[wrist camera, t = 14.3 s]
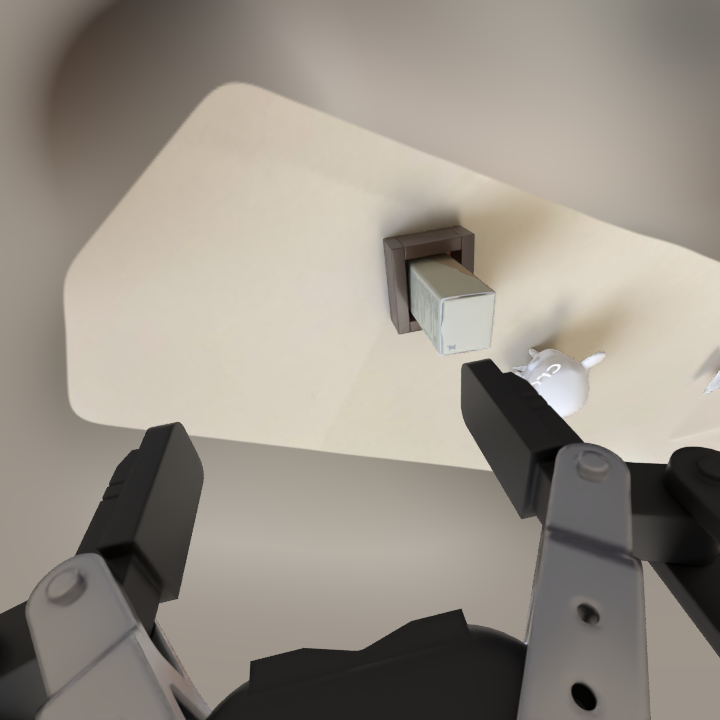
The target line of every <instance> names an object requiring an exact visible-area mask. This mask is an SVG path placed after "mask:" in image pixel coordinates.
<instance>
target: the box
mask: <svg viewBox="0 0 720 720" xmlns="http://www.w3.org/2000/svg"><path fill="white" fill-rule="evenodd" d="M405 264H406V278H407V292H408V306H409V310H410V311H411V313H412V314H413V316H414V317H415V319H416V320H417V322H418V323H419V325H420V326H421V328H422V329H423V331H424V332H425V334H426V335H427V337H428V338H429V340H430V341H431V343H432V344H433V346H434V347H435V349H436V350H437V352H438V353H439V355H440V356H446V355H453V354H460V353H466V352H471V351H477V350H482V349H488V348H490V345H491V338H492V330H493V321H494V309H495V297H496V292H495V291H493V290H492V289H491V288H490V287H488V286H487V285H486V284H485V283H483V282H482V281H481V280H480V279H478V278H477V277H476V276H475V275H473V274H472V273H471V272H470V271H468V270H467V269H466V268H465V267H463V266H462V265H461V264H460V263H458V262H457V261H456V260H455V259H453V258H452V257H451V256H450V255H448V254H447V253H440V254H435V255H430V256H424V257H419V258H414V259H408V260H405Z"/></svg>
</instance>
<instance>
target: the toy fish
mask: <svg viewBox="0 0 720 720" xmlns="http://www.w3.org/2000/svg"><path fill="white" fill-rule="evenodd" d="M719 388H720V370H719V371H718V372H717V374H716V375H715V376H714V378H713V379H712V380H711V381H710V383H709V384H708V385H707V387H706V389H705V391H704V392H703V394H707V393H709V392H712V391H714V390H716V389H719Z"/></svg>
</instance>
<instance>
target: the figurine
mask: <svg viewBox="0 0 720 720" xmlns="http://www.w3.org/2000/svg"><path fill="white" fill-rule="evenodd" d="M529 353H530V355H531V356H532V357H533V360H532V361H531V362H530V363H529V364H528V365H523V366H518V367H513V368H514V369H517V370H521V372H519V371H517V372H515V374H516V375H518V376H520V377H522V378H524V379H525V380H527V381H528V382H529V383H530V384H531V385H532V386H533V387H534V388H535V389H536V390H537V392H538V394H539V395H541V396H542V397H543V398H544V399H545V400H546V401H547V403H548V405H550V406H551V407H552V408H553V409H554V410H555V411H556V412H557V413H558V414H559V416H560V417H561V418H563V417H566V416H568V415H570V414H572V413H574V412H576V411H578V410H579V409H580V408H582V407H583V405H584V404H585V403H586V401H587V398H588V394H589V371H590V369H591V367H593V366H594V365H596V364H598V363H599V362H601V361H602V360H603V359H604V358H605V357H606V352H604V351H600V352H597V353H595V354H593V355H591V356H590V357H588V358H586V359H584V360H582V361H581V362H578V361H576V360H575V359H574V358H572V357H570V356H568V355H566V354H564V353H562V352H560V351H559V350H556V349H545V350H543V351H541V352H540V353H539V352H537V351H536V350H534V349H532V348H531V349H530V350H529ZM522 371H524V372H523V373H522Z"/></svg>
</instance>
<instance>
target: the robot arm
mask: <svg viewBox="0 0 720 720" xmlns="http://www.w3.org/2000/svg"><path fill="white" fill-rule="evenodd" d="M461 410H462V415H463V419H464V421H465V424H466V426H467V428H468V429H469V431H470V433H471V434H472V436H473V438H474V440H475V441H476V443H477V445H478V446H479V448H480V450H481V451H482V453H483V455H484V457H485V458H486V460H487V462H488V463H489V465H490V467H491V468H492V470H493V472H494V473H495V475H496V477H497V479H498V480H499V482H500V483H501V485H502V487H503V489H504V490H505V492H506V494H507V496H508V497H509V499H510V500H511V502H512V504H513V506H514V507H515V509H516V511H517V513H518V514H519V516H520V517H521V519H524V518H528V517H533V516H537V517H538V519H539V521H540V522H541V524H542V525H543V526H542V532H541V537H540V543H539V549H538V556H537V562H536V568H535V574H534V580H533V586H532V593H531V598H530V604H529V610H528V615H527V621H526V627H525V632H524V638H523V642H521V641H520V640H518V639H516V638H514V637H512V636H510V635H508V634H506V633H504V632H501V631H498V630H495V629H492V628H489V627H484V626H478V625H469V624H467V623H466V620H465V617H464V615H463V612H462V609H458V610H454V611H450V612H446V613H442V614H438V615H434V616H430V617H426V618H422V619H418V620H414V621H411V622H409V623H407V624H406V625H404V626H402V627H401V628H399V629H397V630H395V631H394V632H392V633H390V634H389V635H387V636H385V637H384V638H382V639H380V640H379V641H377V642H375V643H373V644H372V645H370V646H368V647H367V648H365V649H363V650H359V651H346V650H328V649H312V648H302V649H298V650H294V651H290V652H286V653H282V654H278V655H274V656H270V657H266V658H262V659H258V660H254V661H251V662H250V663H251V664H250V679H249V681H248V682H246V683H244V684H243V685H241V686H240V687H238V688H237V689H236V690H234V691H233V692H232V693H231V694H229V695H228V696H227V697H226V698H225V699H224V700H223V701H222V702H221V703H220V704H219V705H218V706H217V707H216V708H215V709H214V710H213V711H211V709H210V708H209V706H208V705H207V703H206V702H205V701H204V699H203V698H202V697H201V695H200V694H199V692H198V691H197V689H196V688H195V686H194V685H193V683H192V681H191V680H190V678H189V676H188V674H187V672H186V671H185V669H184V667H183V665H182V664H181V662H180V660H179V658H178V656H177V655H176V653H175V651H174V649H173V648H172V646H171V644H170V642H169V641H168V639H167V637H166V635H165V633H164V632H163V630H162V628H161V627H160V625H159V623H158V622H157V620H156V619H155V617H156V613H157V609H158V605H159V603H162V602H167V601H170V600H175V599H178V595H179V591H180V586H181V582H182V577H183V573H184V568H185V563H186V559H187V554H188V550H189V545H190V540H191V536H192V532H193V527H194V522H195V518H196V513H197V508H198V504H199V499H200V495H201V490H202V485H203V479H204V477H203V476H204V474H203V466H202V463H201V460H200V458H199V456H198V454H197V452H196V450H195V448H194V446H193V444H192V442H191V440H190V438H189V436H188V434H187V432H186V430H185V428H184V426H183V425H182V424H181V423H180V422H175V423H170V424H165V425H160V426H156V427H151V428H149V429H148V430H147V432H146V434H145V436H144V438H143V441H142V443H141V445H140V448H139V449H136V450H132V451H131V452H130V453H129V454H128V455H127V456H126V457H125V458H124V460H123V461H122V462H121V463H120V464H119V465H118V466H117V468H116V470H115V472H114V474H113V476H112V478H111V480H110V483H109V487H107V489H106V491H105V493H104V495H103V501H101V502H100V504H99V506H98V508H97V510H96V512H95V514H94V516H93V519H92V521H91V523H90V525H89V527H88V530H87V531H86V534H85V535H84V538H83V540H82V542H81V544H80V547H79V548H78V550H77V553H76V555H75V556H74V557H71V558H70V559H67V560H65V561H64V562H62V563H61V564H59V565H58V566H56V567H55V568H54V569H52V570H51V571H50V572H49V573H48V574H47V575H46V576H44V578H43V579H42V580H41V581H40V582H39V583H38V584H37V586H36V587H35V588H34V590H33V591H32V593H31V595H30V597H29V599H28V600H27V601H25V602H24V603H22V604H20V605H17V606H15V607H13V608H12V609H9V610H8V611H5V612H4V613H1V614H0V720H651V716H650V696H649V677H648V657H647V638H646V617H645V598H644V577H643V567H642V563H641V560H643V561H648V562H649V563H650V565H651V566H652V567H653V569H654V570H655V571H656V573H657V574H658V575H659V577H660V578H661V579H662V581H663V582H664V583H665V585H666V586H667V587H668V589H669V590H670V591H671V593H672V594H673V595H674V597H675V598H676V599H677V601H678V602H679V603H680V605H681V606H682V607H683V609H684V610H685V612H686V613H687V614H688V616H689V617H690V618H691V620H692V621H693V622H694V623H695V625H696V626H697V628H698V629H699V630H700V632H701V633H702V634H703V636H704V637H705V638H706V640H707V641H708V642H709V644H710V645H711V646H712V648H713V649H714V650H715V652H716V653H717V654H718V656H719V657H720V452H719V451H716V450H713V449H709V448H703V447H684V448H680V449H678V450H676V451H675V452H674V453H673V454H672V456H671V457H670V460H669V462H668V464H653V463H632V462H624V461H623V460H622V459H621V458H620V457H619V456H618V455H617V454H615V453H614V452H612V451H610V450H608V449H606V448H604V447H601V446H599V445H595V444H590V443H584V442H583V441H582V439H581V438H580V437H579V436H578V435H577V434H576V433H575V432H574V431H573V430H572V429H571V427H570V426H569V425H568V424H567V423H566V422H565V421H564V420H563V419H562V418H561V417H560V416H559V414H558V413H557V412H556V411H555V410H554V409H553V408H552V407H551V406H550V405H548V403H547V401H546V400H545V399H544V398H543V397H542V396H541V395H539V394H538V392H537V390H536V389H535V388H534V387H533V386H532V385H531V384H530V383H529V382H528V381H527V380H525V379H524V378H522V377H520V376H518V375H516V374H514V373H512V372H508V373H502V372H501V371H500V369H499V368H498V367H497V366H496V365H495V363H494V362H493V361H492V360H491V359H484V360H479V361H474V362H469V363H464V364H463V365H462V368H461Z"/></svg>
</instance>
